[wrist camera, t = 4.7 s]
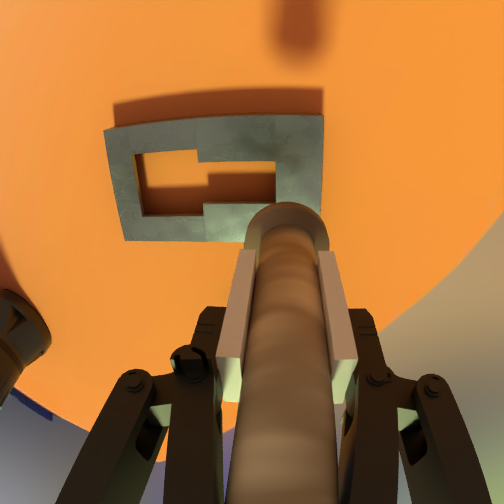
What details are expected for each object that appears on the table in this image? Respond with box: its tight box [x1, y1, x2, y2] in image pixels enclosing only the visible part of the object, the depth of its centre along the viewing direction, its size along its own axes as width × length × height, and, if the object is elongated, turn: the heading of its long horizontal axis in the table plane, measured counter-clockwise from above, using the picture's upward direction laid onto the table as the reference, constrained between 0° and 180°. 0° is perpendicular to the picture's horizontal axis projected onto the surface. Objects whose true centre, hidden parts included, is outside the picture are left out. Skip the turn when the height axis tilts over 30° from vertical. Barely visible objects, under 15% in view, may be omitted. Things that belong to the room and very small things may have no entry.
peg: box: [224, 202, 339, 504], centre depth 12 cm, size 5×5×15 cm
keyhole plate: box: [104, 113, 324, 242], centre depth 28 cm, size 20×12×2 cm, turn 92°
